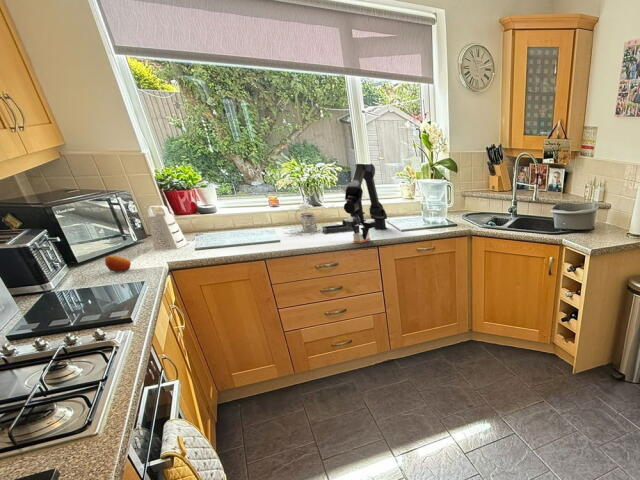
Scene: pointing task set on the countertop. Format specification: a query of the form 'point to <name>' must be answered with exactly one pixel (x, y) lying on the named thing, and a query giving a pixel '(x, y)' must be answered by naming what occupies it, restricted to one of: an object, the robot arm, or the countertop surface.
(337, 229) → the shoe tray
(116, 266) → the fruit
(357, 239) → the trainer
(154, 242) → the grater
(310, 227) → the french press
